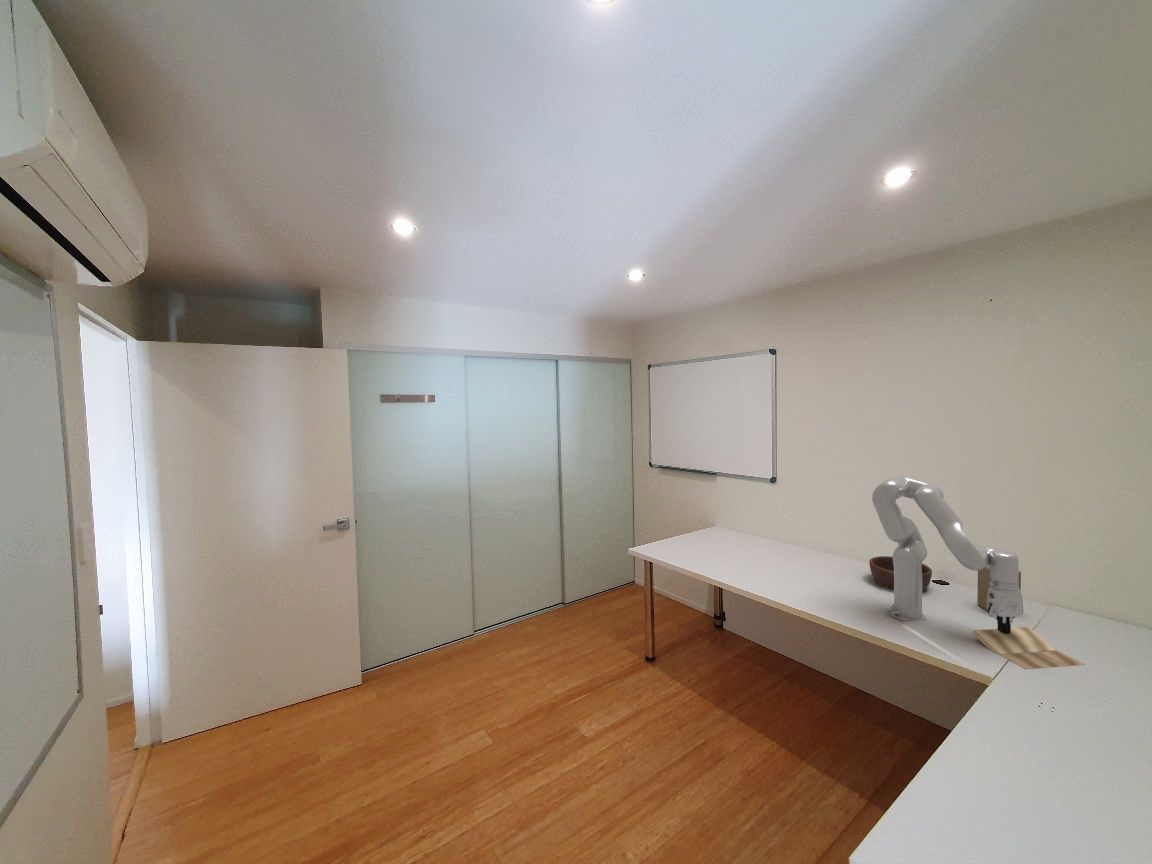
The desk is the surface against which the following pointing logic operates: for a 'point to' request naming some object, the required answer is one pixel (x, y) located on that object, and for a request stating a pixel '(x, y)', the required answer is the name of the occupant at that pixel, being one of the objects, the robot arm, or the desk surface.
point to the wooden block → (987, 586)
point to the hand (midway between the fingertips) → (1003, 631)
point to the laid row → (1042, 660)
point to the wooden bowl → (885, 572)
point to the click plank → (1013, 641)
